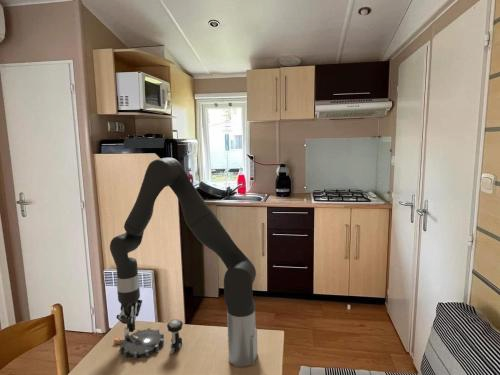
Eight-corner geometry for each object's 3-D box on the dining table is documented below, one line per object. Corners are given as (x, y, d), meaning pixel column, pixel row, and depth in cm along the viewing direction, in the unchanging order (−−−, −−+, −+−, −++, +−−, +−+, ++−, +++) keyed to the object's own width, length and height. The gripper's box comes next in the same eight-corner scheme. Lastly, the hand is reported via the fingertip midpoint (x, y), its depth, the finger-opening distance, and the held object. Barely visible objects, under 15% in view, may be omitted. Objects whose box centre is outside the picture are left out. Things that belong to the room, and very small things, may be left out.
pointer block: (124, 341, 115) (123, 337, 115) (120, 344, 113) (120, 341, 113) (117, 340, 116) (116, 336, 116) (113, 343, 114) (113, 340, 114)
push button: (178, 356, 106) (176, 329, 105) (164, 354, 107) (162, 327, 106) (186, 344, 113) (184, 318, 111) (172, 342, 114) (171, 317, 113)
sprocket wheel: (172, 339, 115) (172, 324, 114) (140, 364, 102) (139, 347, 101) (144, 328, 122) (143, 314, 122) (111, 350, 109) (109, 335, 109)
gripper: (126, 296, 106) (129, 343, 109) (147, 280, 119) (150, 322, 121) (107, 294, 108) (111, 340, 110) (130, 278, 121) (132, 319, 123)
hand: (131, 330), depth 116 cm, fingers closed
